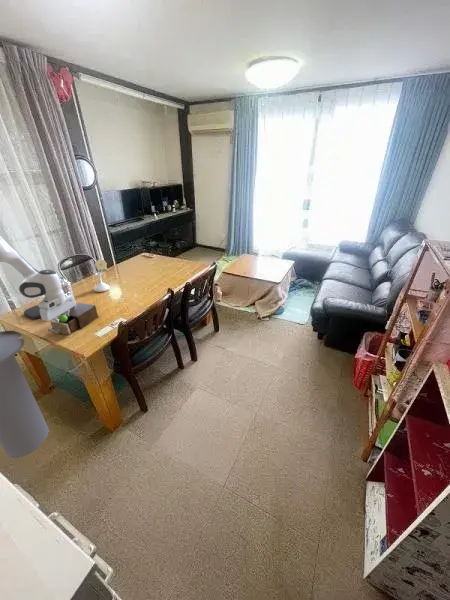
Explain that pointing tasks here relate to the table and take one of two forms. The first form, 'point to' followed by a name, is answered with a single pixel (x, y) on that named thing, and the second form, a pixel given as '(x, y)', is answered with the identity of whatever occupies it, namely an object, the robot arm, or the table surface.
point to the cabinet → (83, 314)
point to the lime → (63, 318)
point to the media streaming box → (33, 312)
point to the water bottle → (66, 285)
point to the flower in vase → (100, 286)
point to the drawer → (64, 326)
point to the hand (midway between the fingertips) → (63, 319)
